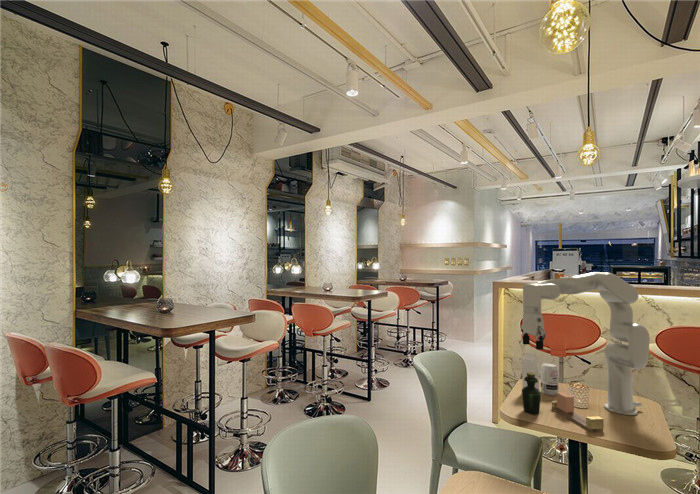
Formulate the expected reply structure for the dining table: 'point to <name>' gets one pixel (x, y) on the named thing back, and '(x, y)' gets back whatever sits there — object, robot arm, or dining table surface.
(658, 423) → the dining table surface
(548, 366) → the supplement can
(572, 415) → the track
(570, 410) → the block
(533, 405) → the potion bottle
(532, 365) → the clear plastic bottle
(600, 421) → the post
